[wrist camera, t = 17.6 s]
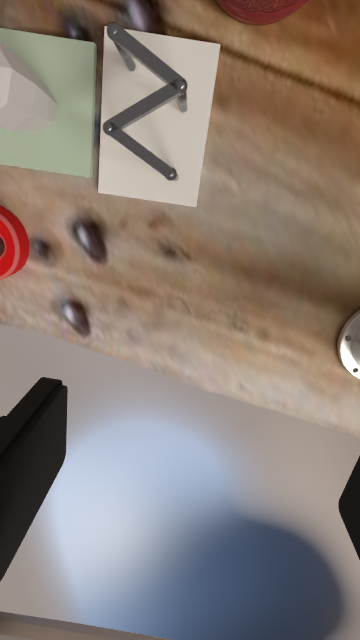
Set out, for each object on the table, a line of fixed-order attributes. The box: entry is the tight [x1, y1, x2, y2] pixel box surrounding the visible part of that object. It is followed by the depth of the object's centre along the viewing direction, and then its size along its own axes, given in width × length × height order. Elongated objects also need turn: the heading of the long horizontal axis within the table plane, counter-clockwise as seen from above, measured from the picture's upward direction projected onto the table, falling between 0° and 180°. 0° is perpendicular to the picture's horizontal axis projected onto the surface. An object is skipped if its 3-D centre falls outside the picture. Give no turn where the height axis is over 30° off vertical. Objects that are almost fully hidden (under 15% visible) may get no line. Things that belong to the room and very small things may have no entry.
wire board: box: [98, 26, 220, 207], centre depth 36 cm, size 12×16×1 cm
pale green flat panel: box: [0, 28, 97, 178], centre depth 36 cm, size 13×13×1 cm
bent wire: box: [103, 22, 188, 181], centre depth 32 cm, size 7×11×9 cm, turn 172°
